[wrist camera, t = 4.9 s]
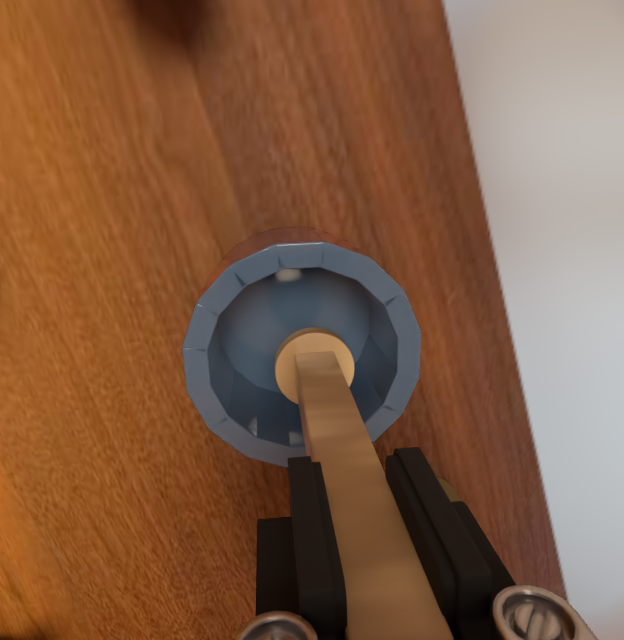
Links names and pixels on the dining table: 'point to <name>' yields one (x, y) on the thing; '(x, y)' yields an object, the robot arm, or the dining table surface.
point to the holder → (283, 320)
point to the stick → (357, 496)
